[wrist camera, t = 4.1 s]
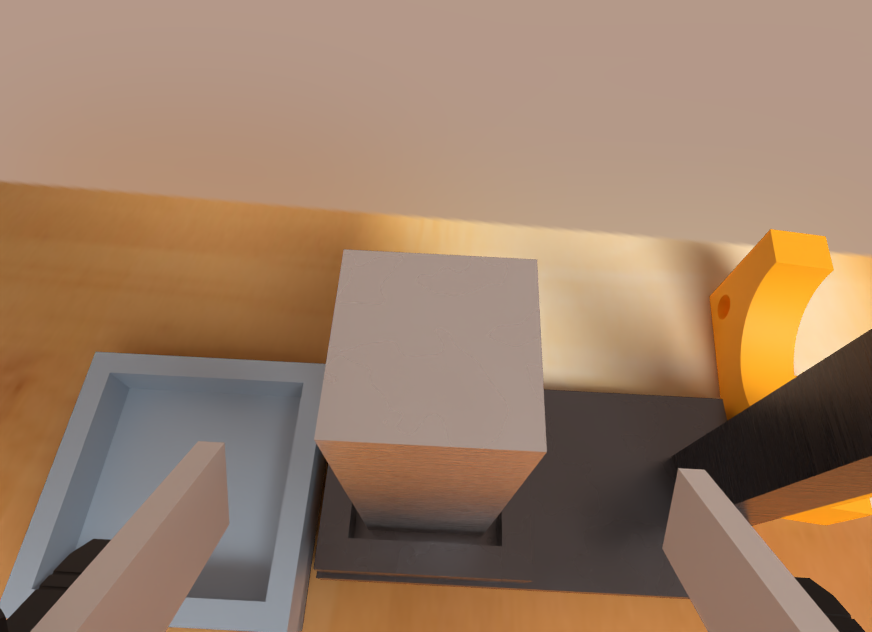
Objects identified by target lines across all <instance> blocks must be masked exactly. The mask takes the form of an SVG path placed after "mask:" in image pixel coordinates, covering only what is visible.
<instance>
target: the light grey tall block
mask: <svg viewBox="0 0 872 632" xmlns="http://www.w3.org/2000/svg"><path fill="white" fill-rule="evenodd" d="M314 441H315V442H316V444H317V446H318V447H319V449H320V450H321V452H322V454H323V455H324V457H325V459H326V460H327V462H328V464H329V465H330V467H331V469H332V470H333V472H334V474H335V475H336V477H337V479H338V480H339V482H340V483H341V485H342V487H343V488H344V490H345V492H346V493H347V495H348V497H349V498H350V500H351V502H352V503H353V505H354V507H355V508H356V510H357V512H358V513H359V515H360V516H361V518H362V520H363V521H364V523H365V525H366V526H367V528H368V530H381V531H399V532H418V533H437V534H456V535H475V536H483V534H484V533H485V532H486V531H487V529H488V528H489V527H490V525H491V524H492V523H493V521H494V520H495V519H496V518H497V516H498V515H499V514H500V512H501V511H502V510H503V508H504V507H505V506H506V505H507V503H508V502H509V501H510V499H511V498H512V497H513V495H514V494H515V493H516V492H517V490H518V489H519V488H520V486H521V485H522V484H523V482H524V481H525V480H526V479H527V477H528V476H529V475H530V473H531V472H532V471H533V469H534V468H535V467H536V466H537V464H538V463H539V462H540V460H541V459H542V458H543V456H544V455H545V454H546V453H547V445H546V426H545V406H544V387H543V368H542V348H541V329H540V309H539V290H538V270H537V260H536V259H517V258H498V257H479V256H460V255H441V254H421V253H402V252H383V251H364V250H345V249H344V251H343V258H342V264H341V270H340V277H339V283H338V290H337V296H336V302H335V309H334V315H333V322H332V328H331V334H330V341H329V347H328V353H327V360H326V366H325V373H324V379H323V385H322V392H321V398H320V405H319V411H318V417H317V424H316V430H315V437H314Z"/></svg>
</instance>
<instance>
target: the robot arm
mask: <svg viewBox="0 0 872 632" xmlns="http://www.w3.org/2000/svg"><path fill="white" fill-rule="evenodd" d="M229 524H230V523H229V506H228V490H227V474H226V457H225V443H224V442H206V441H198V442H197V443H196V444H195V445H194V446H193V448H192V449H191V450H190V451H189V452H188V453H187V454H186V456H185V457H184V458H183V459H182V460H181V461H180V462H179V463H178V465H177V466H176V467H175V468H174V469H173V470H172V471H171V473H170V474H169V475H168V476H167V477H166V478H165V479H164V480H163V482H162V483H161V484H160V485H159V486H158V487H157V488H156V490H155V491H154V492H153V493H152V494H151V495H150V496H149V498H148V499H147V500H146V501H145V502H144V503H143V504H142V505H141V507H140V508H139V509H138V510H137V511H136V512H135V513H134V515H133V516H132V517H131V518H130V519H129V520H128V521H127V522H126V524H125V525H124V526H123V527H122V528H121V529H120V530H119V532H118V533H117V534H116V535H115V536H114V537H113V538H112V540H109V539H92V540H91V541H89V542H87V543H86V544H84V545H83V546H81V547H79V548H78V549H76V550H75V551H73V552H72V553H70V554H69V555H68V556H67V557H66V558H65V559H64V560H63V561H62V562H61V564H60V565H59V566H58V567H57V568H56V569H55V570H54V571H53V574H52V575H51V574H50V575H49V576H48V577H47V578H46V579H45V580H44V581H43V582H42V583H41V584H40V586H39V589H36V590H35V591H34V592H33V593H32V594H31V595H30V596H29V597H28V598H27V599H26V600H25V601H24V602H23V603H22V604H21V605H20V606H19V608H18V609H17V610H16V611H15V612H14V613H13V614H12V615H11V616H10V617H9V618H8V619H7V620H6V617H5V615H4V613H3V611H2V609H0V632H166V630H167V628H168V627H169V625H170V623H171V622H172V620H173V618H174V616H175V615H176V613H177V611H178V610H179V608H180V606H181V605H182V603H183V601H184V600H185V598H186V596H187V595H188V593H189V591H190V590H191V588H192V586H193V585H194V583H195V581H196V580H197V578H198V576H199V574H200V573H201V571H202V569H203V568H204V566H205V564H206V563H207V561H208V559H209V558H210V556H211V554H212V553H213V551H214V549H215V548H216V546H217V544H218V543H219V541H220V539H221V538H222V536H223V534H224V532H225V531H226V529H227V527H228V526H229ZM662 549H663V551H664V553H665V555H666V556H667V558H668V560H669V562H670V564H671V565H672V567H673V569H674V571H675V573H676V574H677V576H678V578H679V580H680V582H681V584H682V585H683V587H684V589H685V591H686V593H687V594H688V596H689V598H690V600H691V602H692V603H693V605H694V607H695V609H696V611H697V612H698V614H699V616H700V618H701V620H702V621H703V623H704V625H705V627H706V629H707V631H708V632H865V631H864V630H863V629H862V627H861V626H860V625H859V624H858V623H857V622H856V621H855V620H854V619H851V615H850V614H849V613H848V612H847V611H846V609H845V608H844V607H843V606H842V605H841V604H840V603H839V601H838V600H837V599H836V598H835V597H834V596H833V595H832V594H830V593H829V592H828V591H826V590H825V589H824V588H822V587H821V586H819V585H818V584H817V583H815V582H814V581H813V580H811V579H810V578H798V577H793V575H792V574H791V573H790V572H789V571H788V569H787V568H786V567H785V566H784V565H783V563H782V562H781V561H780V560H779V559H778V557H777V556H776V555H775V554H774V553H773V551H772V550H771V549H770V548H769V547H768V545H767V544H766V543H765V542H764V541H763V539H762V538H761V537H760V536H759V534H758V533H757V532H756V531H755V530H754V528H753V527H752V526H751V525H750V524H749V522H748V521H747V520H746V519H745V518H744V516H743V515H742V514H741V513H740V512H739V510H738V509H737V508H736V507H735V506H734V504H733V503H732V502H731V501H730V500H729V498H728V497H727V496H726V495H725V494H724V492H723V491H722V490H721V489H720V488H719V486H718V485H717V484H716V483H715V482H714V480H713V479H712V478H711V477H710V475H709V474H708V473H707V472H706V471H705V470H701V469H683V468H678V472H677V477H676V482H675V487H674V492H673V497H672V502H671V507H670V512H669V517H668V522H667V527H666V532H665V537H664V542H663V547H662Z"/></svg>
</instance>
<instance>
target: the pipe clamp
mask: <svg viewBox="0 0 872 632" xmlns="http://www.w3.org/2000/svg"><path fill="white" fill-rule="evenodd" d="M833 270H834V269H833V265H832V261H831V257H830V253H829V249H828V244H827V240H826V237H825V236H818V235H810V234H803V233H795V232H787V231H780V230H773V229H770V230H769V231H768V232H767V233H766V235H765V236H764V237H763V238H762V239H761V240H760V241H759V242H758V243H757V245H756V246H755V247H754V248H753V249H752V250H751V251H750V252H749V253H748V255H747V256H746V257H745V258H744V259H743V260H742V261H741V262H740V263H739V264H738V266H737V267H736V268H735V269H734V270H733V271H732V272H731V273H730V274H729V276H728V277H727V278H726V279H725V280H724V281H723V282H722V283H721V284H720V285H719V287H718V288H717V289H716V290H715V291H714V292H713V293H712V294H711V295H710V305H711V315H712V324H713V333H714V343H715V352H716V362H717V371H718V380H719V390H720V399H723V403H724V408H725V412H726V417H727V421H728V420H729V419H731V418H733V417H734V416H736V415H737V414H739V413H740V412H742V411H744V410H745V409H747V408H748V407H750V406H751V405H753V404H755V403H756V402H758V401H759V400H761V399H762V398H764V397H766V396H767V395H769V394H770V393H772V392H773V391H775V390H777V389H778V388H780V387H781V386H783V385H784V384H786V383H787V382H789V381H791V380H792V379H794V378H795V377H797V376H794V365H793V361H794V347H795V341H796V335H797V331H798V327H799V324H800V321H801V318H802V315H803V313H804V310H805V308H806V306H807V304H808V302H809V300H810V298H811V297H812V295H813V293H814V292H815V290H816V289H817V288H818V286H819V285H820V284H821V282H822V281H823V280H824V279H825V278H826V277H827V276H828V275H829V274H830V273H831V272H832V271H833ZM871 497H872V493H870V494H867V495H863V496H859V497H856V498H852V499H848V500H845V501H841V502H837V503H834V504H830V505H826V506H823V507H819V508H815V509H812V510H808V511H804V512H801V513H797V514H793V515H790V516H786V517H782V518H783V519H789V520H795V521H802V522H808V523H814V524H821V525H830V524H834V523H839V522H843V521H847V520H852V519H856V518H861V517H865V516H870V515H872V508H871V503H870V499H869V498H871Z"/></svg>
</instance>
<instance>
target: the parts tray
mask: <svg viewBox="0 0 872 632" xmlns="http://www.w3.org/2000/svg"><path fill="white" fill-rule="evenodd" d="M325 366H326V364H318V363H299V362H280V361H261V360H242V359H223V358H204V357H185V356H166V355H147V354H128V353H110V352H95V355H94V357H93V360H92V362H91V365H90V368H89V370H88V373H87V376H86V378H85V381H84V383H83V386H82V389H81V391H80V394H79V396H78V399H77V402H76V404H75V407H74V410H73V412H72V415H71V417H70V420H69V423H68V425H67V428H66V431H65V433H64V436H63V438H62V441H61V444H60V446H59V449H58V451H57V454H56V457H55V459H54V462H53V465H52V467H51V470H50V472H49V475H48V478H47V480H46V483H45V485H44V488H43V491H42V493H41V496H40V499H39V501H38V504H37V506H36V509H35V512H34V514H33V517H32V519H31V522H30V525H29V527H28V530H27V533H26V535H25V538H24V540H23V543H22V546H21V548H20V551H19V553H18V556H17V559H16V561H15V564H14V567H13V569H12V572H11V574H10V577H9V580H8V582H7V585H6V587H5V590H4V593H3V595H2V598H1V601H0V609H2V611H3V613H4V615H5V617H6V618H9V617H10V616H11V615H12V614H13V613H14V612H15V611H16V610H17V609H18V608H19V606H20V605H21V604H22V603H23V602H24V601H25V600H26V599H27V598H28V597H29V596H30V595H31V594H32V593H33V592H34V591H35V590H36V589H39V586H40V584H41V583H42V582H43V581H44V580H45V579H46V578H47V577H48V576H49V575H50V574H51V575H52V574H53V571H54V570H55V569H56V568H57V567H58V566H59V565H60V564H61V562H62V561H63V560H64V559H65V558H66V557H67V556H68V555H69V554H70V553H72V552H73V551H75V550H76V549H78V548H79V547H81V546H83V545H84V544H86V543H87V542H89V541H91V540H92V539H109V540H112V538H113V537H114V536H115V535H116V534H117V533H118V532H119V530H120V529H121V528H122V527H123V526H124V525H125V524H126V522H127V521H128V520H129V519H130V518H131V517H132V516H133V515H134V513H135V512H136V511H137V510H138V509H139V508H140V507H141V505H142V504H143V503H144V502H145V501H146V500H147V499H148V498H149V496H150V495H151V494H152V493H153V492H154V491H155V490H156V488H157V487H158V486H159V485H160V484H161V483H162V482H163V480H164V479H165V478H166V477H167V476H168V475H169V474H170V473H171V471H172V470H173V469H174V468H175V467H176V466H177V465H178V463H179V462H180V461H181V460H182V459H183V458H184V457H185V456H186V454H187V453H188V452H189V451H190V450H191V449H192V448H193V446H194V445H195V444H196V443H197V442H198V441H206V442H224V443H225V457H226V474H227V490H228V506H229V523H230V524H229V526H228V527H227V529H226V531H225V532H224V534H223V536H222V538H221V539H220V541H219V543H218V544H217V546H216V548H215V549H214V551H213V553H212V554H211V556H210V558H209V559H208V561H207V563H206V564H205V566H204V568H203V569H202V571H201V573H200V574H199V576H198V578H197V580H196V581H195V583H194V585H193V586H192V588H191V590H190V591H189V593H188V595H187V596H186V598H185V600H184V601H183V603H182V605H181V606H180V608H179V610H178V611H177V613H176V615H175V616H174V618H173V620H172V622H171V623H170V625H169V627H180V628H198V629H217V630H236V631H255V632H300V631H302V627H303V620H304V613H305V606H306V599H307V592H308V585H309V578H310V571H311V564H312V557H313V550H314V543H315V536H316V529H317V522H318V515H319V508H320V501H321V494H322V487H323V480H324V473H325V466H326V459H325V457H324V455H323V454H322V452H321V450H320V449H319V447H318V446H317V444H316V442H315V441H314V437H315V430H316V424H317V417H318V411H319V405H320V398H321V392H322V385H323V379H324V373H325Z"/></svg>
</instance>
